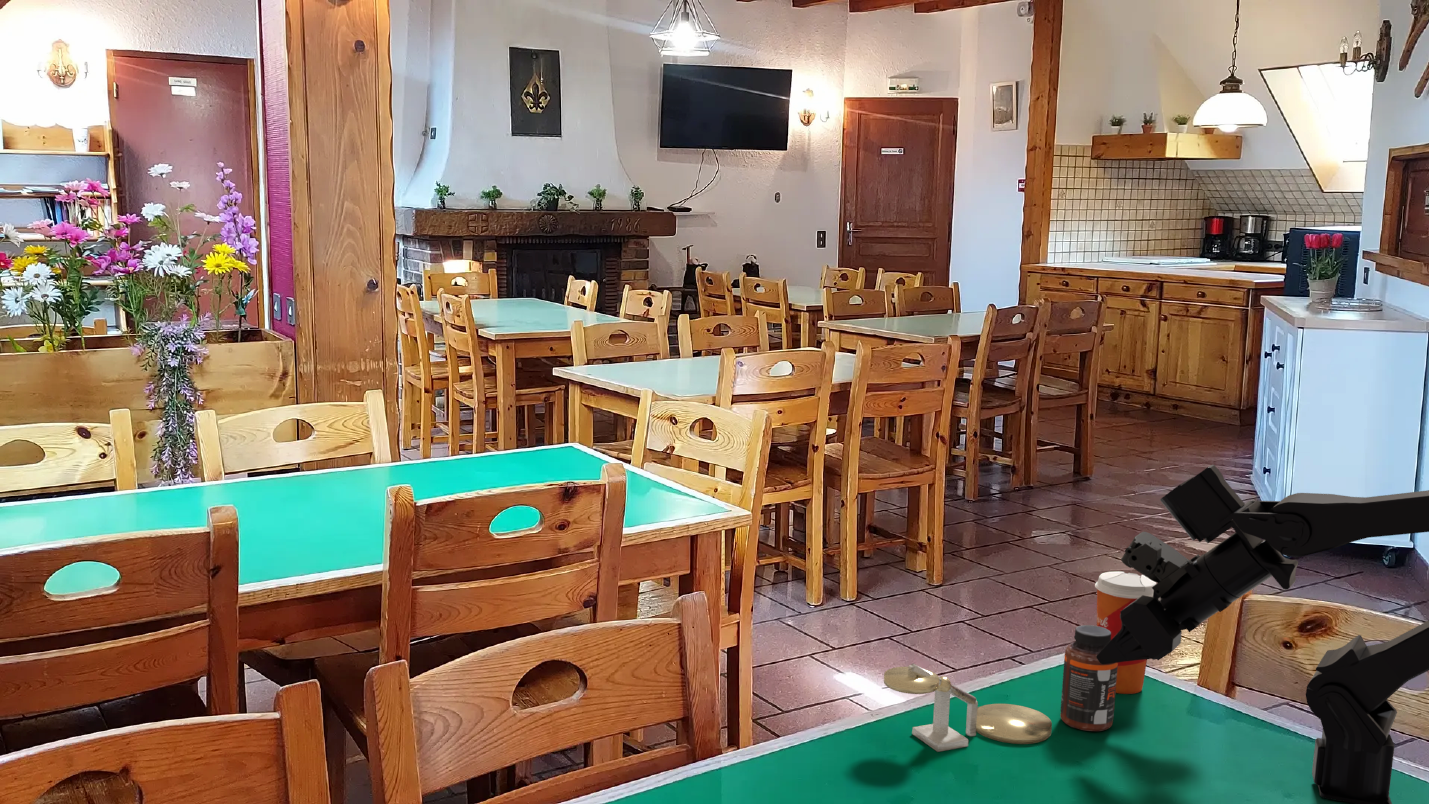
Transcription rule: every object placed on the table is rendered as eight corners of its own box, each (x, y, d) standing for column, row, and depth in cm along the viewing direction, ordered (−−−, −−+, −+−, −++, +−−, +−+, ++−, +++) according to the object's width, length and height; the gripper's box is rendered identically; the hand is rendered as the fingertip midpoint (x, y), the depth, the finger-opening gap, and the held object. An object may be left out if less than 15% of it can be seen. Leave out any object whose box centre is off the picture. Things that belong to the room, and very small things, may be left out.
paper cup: (1095, 670, 160) (1103, 566, 158) (1156, 682, 156) (1165, 576, 154) (1080, 689, 153) (1088, 581, 151) (1143, 702, 149) (1152, 592, 147)
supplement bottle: (1115, 736, 139) (1123, 641, 137) (1061, 730, 140) (1068, 636, 139) (1109, 715, 145) (1117, 624, 143) (1057, 710, 146) (1064, 619, 144)
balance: (1017, 707, 147) (1022, 632, 145) (1068, 736, 138) (1073, 657, 137) (863, 733, 138) (867, 653, 136) (907, 766, 130) (911, 682, 128)
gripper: (1195, 500, 142) (1093, 573, 150) (1148, 531, 127) (1037, 610, 135) (1260, 579, 138) (1153, 650, 146) (1220, 620, 123) (1103, 696, 131)
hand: (1112, 649), depth 140 cm, fingers open, 9 cm apart
